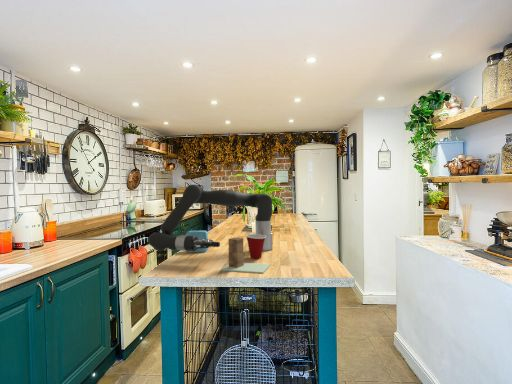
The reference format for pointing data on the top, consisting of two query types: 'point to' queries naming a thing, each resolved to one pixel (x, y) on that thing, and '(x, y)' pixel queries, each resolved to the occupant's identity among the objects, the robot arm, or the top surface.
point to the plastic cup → (255, 245)
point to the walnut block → (236, 252)
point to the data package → (200, 236)
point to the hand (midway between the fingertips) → (219, 244)
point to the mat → (248, 268)
